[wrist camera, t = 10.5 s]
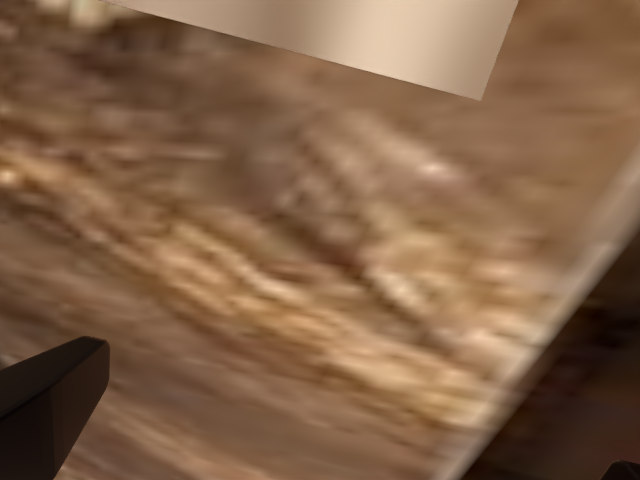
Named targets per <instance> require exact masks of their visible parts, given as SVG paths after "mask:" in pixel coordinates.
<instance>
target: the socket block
mask: <svg viewBox="0 0 640 480" xmlns="http://www.w3.org/2000/svg"><path fill="white" fill-rule="evenodd" d="M99 1H103V2H107V3H111V4H115V5H118V6H122V7H126V8H130V9H134V10H137V11H141V12H145V13H149V14H153V15H156V16H160V17H164V18H168V19H172V20H175V21H179V22H183V23H187V24H191V25H195V26H198V27H202V28H206V29H210V30H214V31H217V32H221V33H225V34H229V35H233V36H236V37H240V38H244V39H248V40H252V41H255V42H259V43H263V44H267V45H271V46H274V47H278V48H282V49H286V50H290V51H293V52H297V53H301V54H305V55H309V56H312V57H316V58H320V59H324V60H328V61H331V62H335V63H339V64H343V65H347V66H350V67H354V68H358V69H362V70H366V71H369V72H373V73H377V74H381V75H385V76H388V77H392V78H396V79H400V80H404V81H407V82H411V83H415V84H419V85H423V86H426V87H430V88H434V89H438V90H442V91H445V92H449V93H453V94H457V95H461V96H464V97H468V98H472V99H476V100H480V101H481V98H482V96H483V93H484V90H485V88H486V85H487V82H488V80H489V77H490V74H491V72H492V69H493V66H494V64H495V61H496V58H497V56H498V53H499V51H500V48H501V45H502V43H503V40H504V37H505V35H506V32H507V29H508V27H509V24H510V21H511V19H512V16H513V13H514V11H515V8H516V6H517V3H518V0H99Z"/></svg>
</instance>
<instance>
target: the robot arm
mask: <svg viewBox="0 0 640 480" xmlns="http://www.w3.org/2000/svg"><path fill="white" fill-rule="evenodd" d="M109 369H110V346H109V343H108V342H107V341H106V340H103V339H99V338H95V337H90V336H82V337H79V338H76V339H74V340H72V341H69V342H67V343H64V344H62V345H60V346H57V347H55V348H52V349H50V350H48V351H45V352H43V353H40V354H38V355H36V356H33V357H31V358H28V359H26V360H23V361H21V362H19V363H16V364H14V365H11V366H9V367H7V368H4V369H2V370H0V480H53V479H54V478H55V476H56V475H57V473H58V471H59V470H60V468H61V466H62V465H63V463H64V461H65V460H66V458H67V456H68V454H69V453H70V451H71V449H72V447H73V446H74V444H75V442H76V440H77V439H78V437H79V435H80V433H81V432H82V430H83V428H84V426H85V425H86V423H87V421H88V419H89V418H90V416H91V414H92V413H93V411H94V409H95V407H96V406H97V404H98V402H99V400H100V399H101V397H102V395H103V393H104V392H105V390H106V387H107V385H108V381H109ZM599 480H640V465H639V464H636V463H632V462H627V461H623V460H616V461H613V462H612V463H611V464H610V465H609V467H608V468H607V469H606V471H605V472H604V474H603V475H602V477H601V478H600V479H599Z"/></svg>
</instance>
